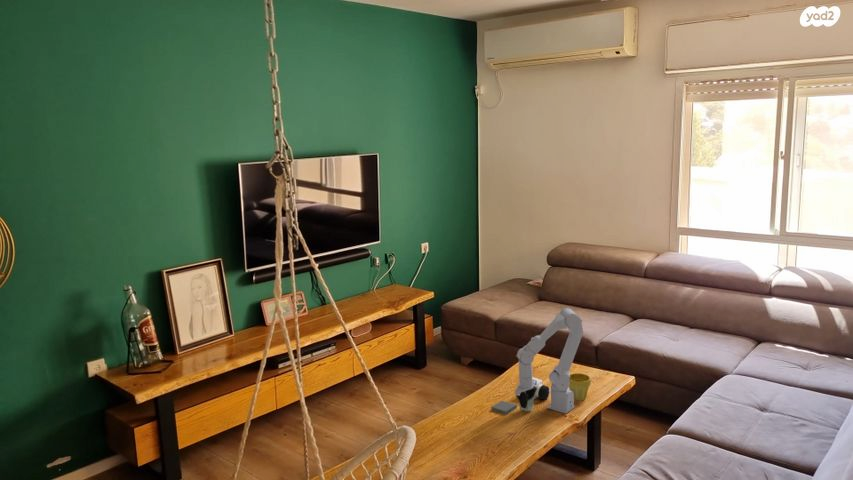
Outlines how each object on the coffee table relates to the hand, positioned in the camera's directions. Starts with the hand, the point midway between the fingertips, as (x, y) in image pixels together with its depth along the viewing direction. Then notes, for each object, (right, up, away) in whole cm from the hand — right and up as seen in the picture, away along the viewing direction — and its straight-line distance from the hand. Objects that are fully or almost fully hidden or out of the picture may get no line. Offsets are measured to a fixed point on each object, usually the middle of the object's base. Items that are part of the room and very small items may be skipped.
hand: (526, 405), depth 284 cm
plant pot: (+25, 0, +11) cm, 28 cm away
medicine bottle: (+2, +5, +17) cm, 18 cm away
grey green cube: (0, -2, 0) cm, 2 cm away
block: (-9, -3, +3) cm, 10 cm away
